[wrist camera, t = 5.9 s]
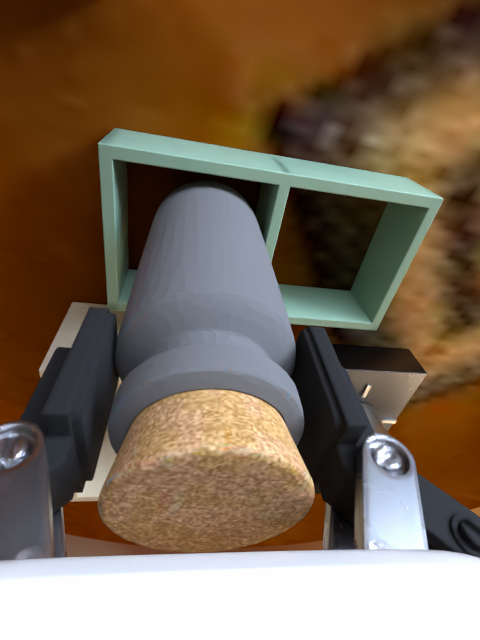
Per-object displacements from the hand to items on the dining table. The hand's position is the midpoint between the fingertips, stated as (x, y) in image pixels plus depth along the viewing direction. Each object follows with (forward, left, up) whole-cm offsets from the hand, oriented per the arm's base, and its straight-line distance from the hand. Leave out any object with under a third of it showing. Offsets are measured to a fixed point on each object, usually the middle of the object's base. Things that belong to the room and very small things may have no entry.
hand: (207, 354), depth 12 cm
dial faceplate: (+15, +15, -12) cm, 24 cm away
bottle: (0, 0, -10) cm, 10 cm away
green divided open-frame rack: (0, +4, -12) cm, 13 cm away
